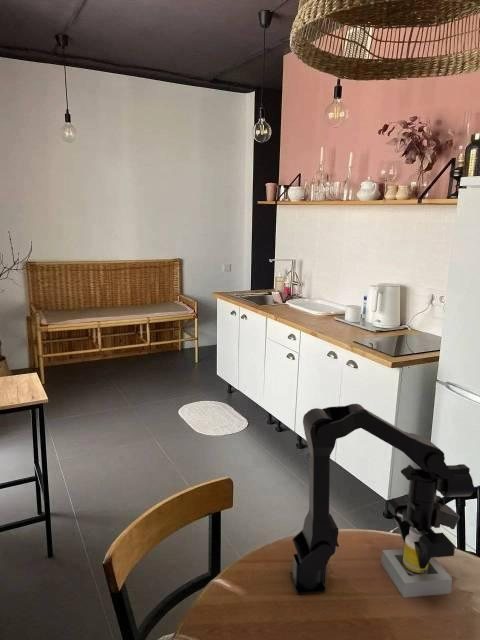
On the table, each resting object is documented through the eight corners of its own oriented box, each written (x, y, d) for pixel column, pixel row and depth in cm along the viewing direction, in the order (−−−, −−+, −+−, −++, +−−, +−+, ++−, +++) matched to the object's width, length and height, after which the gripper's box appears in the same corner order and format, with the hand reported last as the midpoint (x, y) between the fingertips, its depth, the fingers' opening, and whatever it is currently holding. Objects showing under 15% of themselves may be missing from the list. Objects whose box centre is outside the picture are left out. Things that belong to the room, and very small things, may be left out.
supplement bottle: (423, 581, 103) (427, 540, 102) (399, 570, 106) (402, 530, 105) (430, 568, 107) (434, 529, 106) (406, 558, 111) (410, 520, 109)
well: (403, 597, 101) (404, 583, 100) (381, 563, 112) (382, 550, 111) (450, 593, 103) (452, 579, 102) (424, 560, 113) (425, 547, 113)
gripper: (482, 517, 96) (474, 586, 98) (432, 474, 114) (426, 532, 117) (432, 520, 94) (424, 590, 97) (389, 475, 113) (384, 535, 115)
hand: (415, 559), depth 106 cm, fingers closed on supplement bottle, 5 cm apart
